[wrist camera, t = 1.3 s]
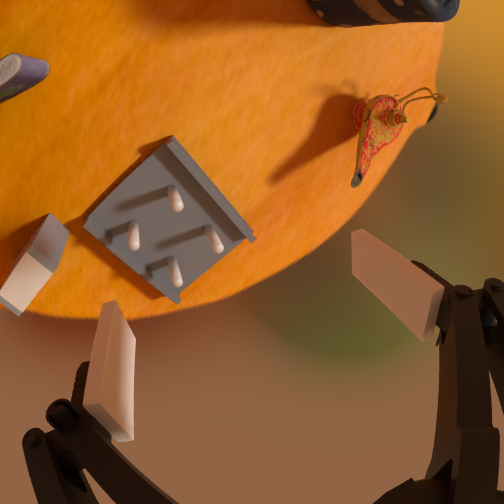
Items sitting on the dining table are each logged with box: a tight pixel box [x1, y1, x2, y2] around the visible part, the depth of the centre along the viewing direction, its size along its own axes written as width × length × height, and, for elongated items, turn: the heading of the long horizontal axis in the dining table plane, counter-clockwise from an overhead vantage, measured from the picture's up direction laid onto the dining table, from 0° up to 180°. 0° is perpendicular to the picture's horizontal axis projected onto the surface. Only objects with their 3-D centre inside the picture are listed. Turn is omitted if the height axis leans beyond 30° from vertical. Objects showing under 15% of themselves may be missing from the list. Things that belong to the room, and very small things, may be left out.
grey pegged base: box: [83, 135, 256, 304], centre depth 33 cm, size 16×14×6 cm
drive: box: [0, 213, 70, 316], centre depth 27 cm, size 4×9×8 cm, turn 125°
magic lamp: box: [351, 87, 448, 188], centre depth 33 cm, size 7×18×11 cm, turn 141°
